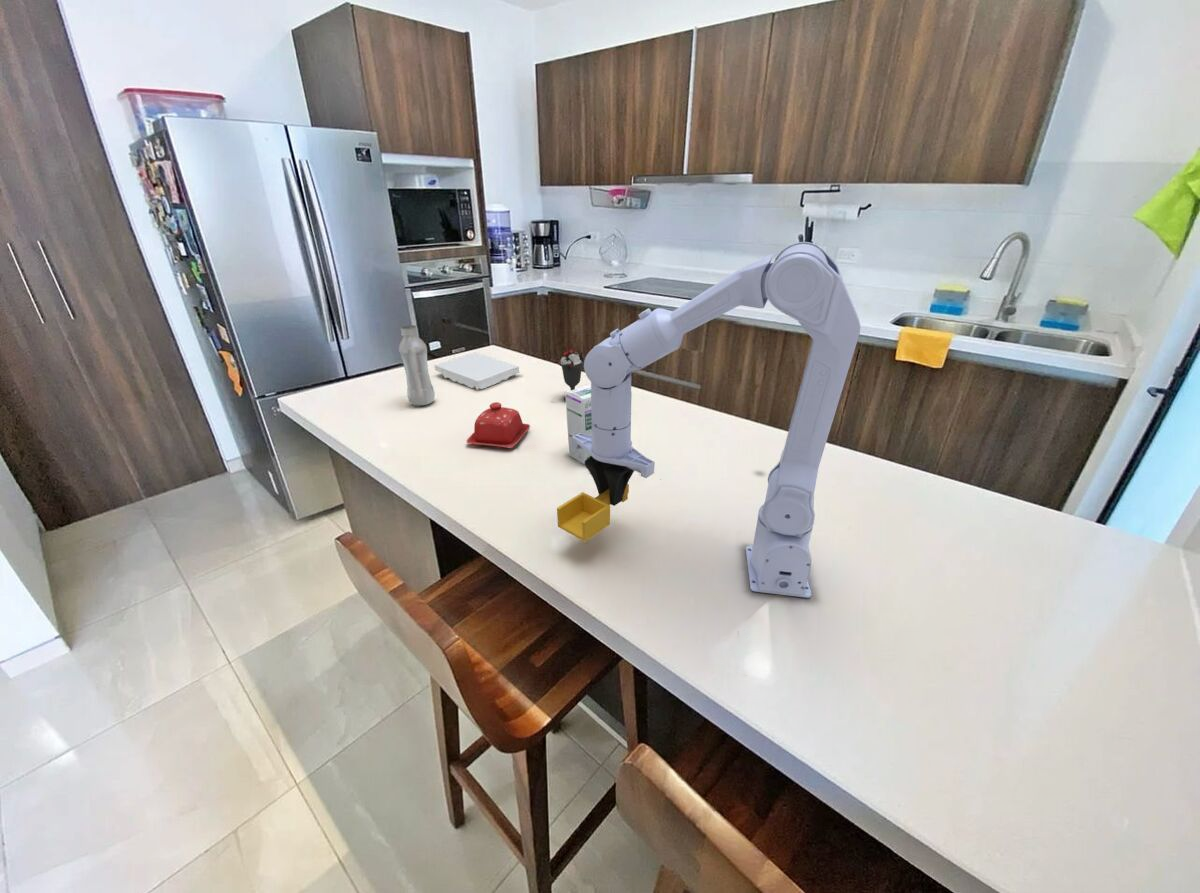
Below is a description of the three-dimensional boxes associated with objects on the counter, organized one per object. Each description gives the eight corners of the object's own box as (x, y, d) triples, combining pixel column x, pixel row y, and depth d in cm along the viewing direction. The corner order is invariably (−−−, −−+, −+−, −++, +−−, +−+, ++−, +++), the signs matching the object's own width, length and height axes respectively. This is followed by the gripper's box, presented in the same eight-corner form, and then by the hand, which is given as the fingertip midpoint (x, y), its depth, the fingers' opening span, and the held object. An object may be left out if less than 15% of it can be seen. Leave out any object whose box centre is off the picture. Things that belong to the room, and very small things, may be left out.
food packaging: (519, 377, 147) (476, 362, 158) (518, 366, 146) (475, 352, 157) (479, 392, 137) (436, 375, 148) (478, 381, 136) (434, 365, 146)
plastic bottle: (408, 401, 131) (392, 325, 121) (434, 397, 133) (421, 322, 124) (410, 410, 126) (394, 331, 116) (438, 405, 128) (424, 328, 119)
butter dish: (464, 447, 107) (458, 411, 103) (487, 425, 117) (482, 391, 113) (513, 453, 105) (509, 416, 101) (532, 429, 115) (530, 395, 111)
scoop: (585, 542, 71) (584, 522, 70) (557, 526, 75) (556, 507, 73) (638, 504, 80) (639, 486, 78) (611, 491, 83) (611, 474, 81)
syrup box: (585, 466, 100) (583, 398, 93) (567, 455, 104) (564, 390, 97) (607, 457, 103) (606, 391, 96) (589, 446, 107) (587, 383, 100)
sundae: (556, 402, 129) (553, 345, 122) (565, 393, 135) (563, 338, 128) (580, 405, 127) (578, 347, 120) (588, 395, 133) (587, 340, 126)
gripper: (668, 426, 70) (663, 505, 77) (592, 401, 79) (593, 474, 85) (638, 444, 66) (635, 527, 72) (560, 415, 74) (564, 491, 81)
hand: (611, 500), depth 78 cm, fingers closed on scoop
